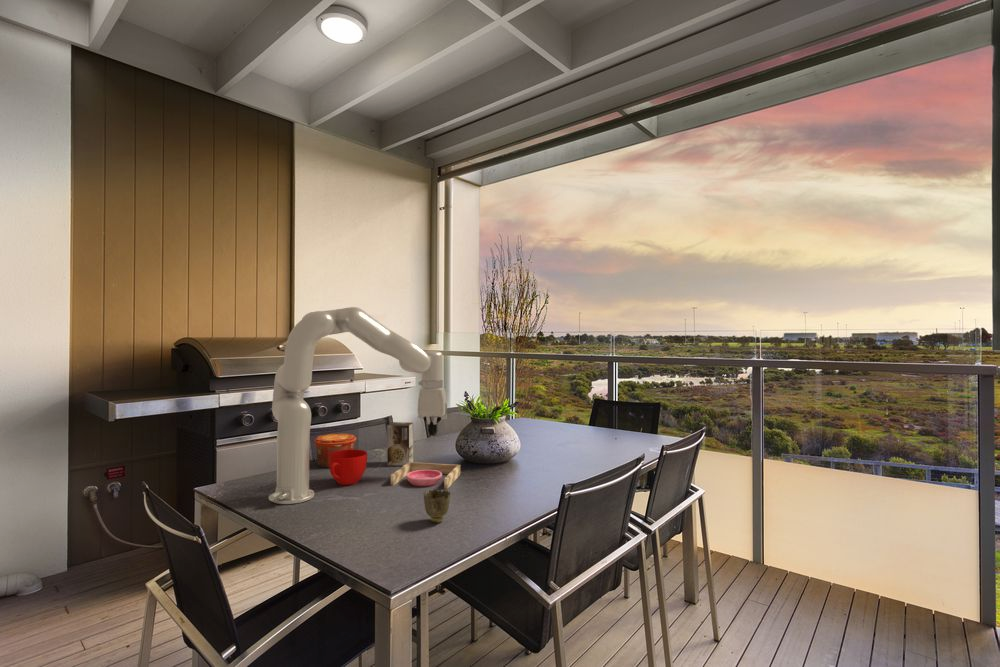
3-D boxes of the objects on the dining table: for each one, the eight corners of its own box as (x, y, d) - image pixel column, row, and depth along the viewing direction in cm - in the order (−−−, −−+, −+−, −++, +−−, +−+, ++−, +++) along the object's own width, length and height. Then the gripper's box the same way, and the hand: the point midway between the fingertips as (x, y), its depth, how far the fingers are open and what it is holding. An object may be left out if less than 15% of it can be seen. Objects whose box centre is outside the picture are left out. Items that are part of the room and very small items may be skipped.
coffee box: (413, 462, 205) (414, 422, 205) (409, 466, 199) (409, 425, 199) (391, 461, 206) (392, 421, 206) (386, 465, 200) (387, 424, 200)
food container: (346, 457, 213) (346, 431, 213) (362, 465, 200) (363, 437, 200) (307, 463, 203) (308, 436, 203) (322, 471, 190) (322, 443, 190)
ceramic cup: (313, 489, 169) (314, 459, 169) (341, 475, 185) (341, 448, 185) (349, 493, 166) (349, 462, 166) (373, 478, 182) (374, 450, 182)
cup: (437, 514, 147) (437, 486, 147) (455, 520, 143) (455, 492, 142) (417, 521, 141) (418, 493, 141) (436, 528, 137) (436, 498, 137)
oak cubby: (447, 489, 171) (447, 478, 171) (390, 485, 174) (390, 475, 174) (460, 474, 189) (460, 464, 189) (408, 471, 192) (408, 461, 192)
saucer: (399, 482, 179) (399, 473, 179) (428, 475, 187) (428, 467, 187) (420, 490, 170) (420, 481, 170) (449, 483, 178) (449, 474, 178)
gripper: (409, 385, 184) (409, 436, 185) (449, 386, 182) (449, 437, 182) (416, 383, 192) (416, 432, 192) (455, 384, 189) (455, 433, 189)
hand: (432, 434), depth 187 cm, fingers closed
